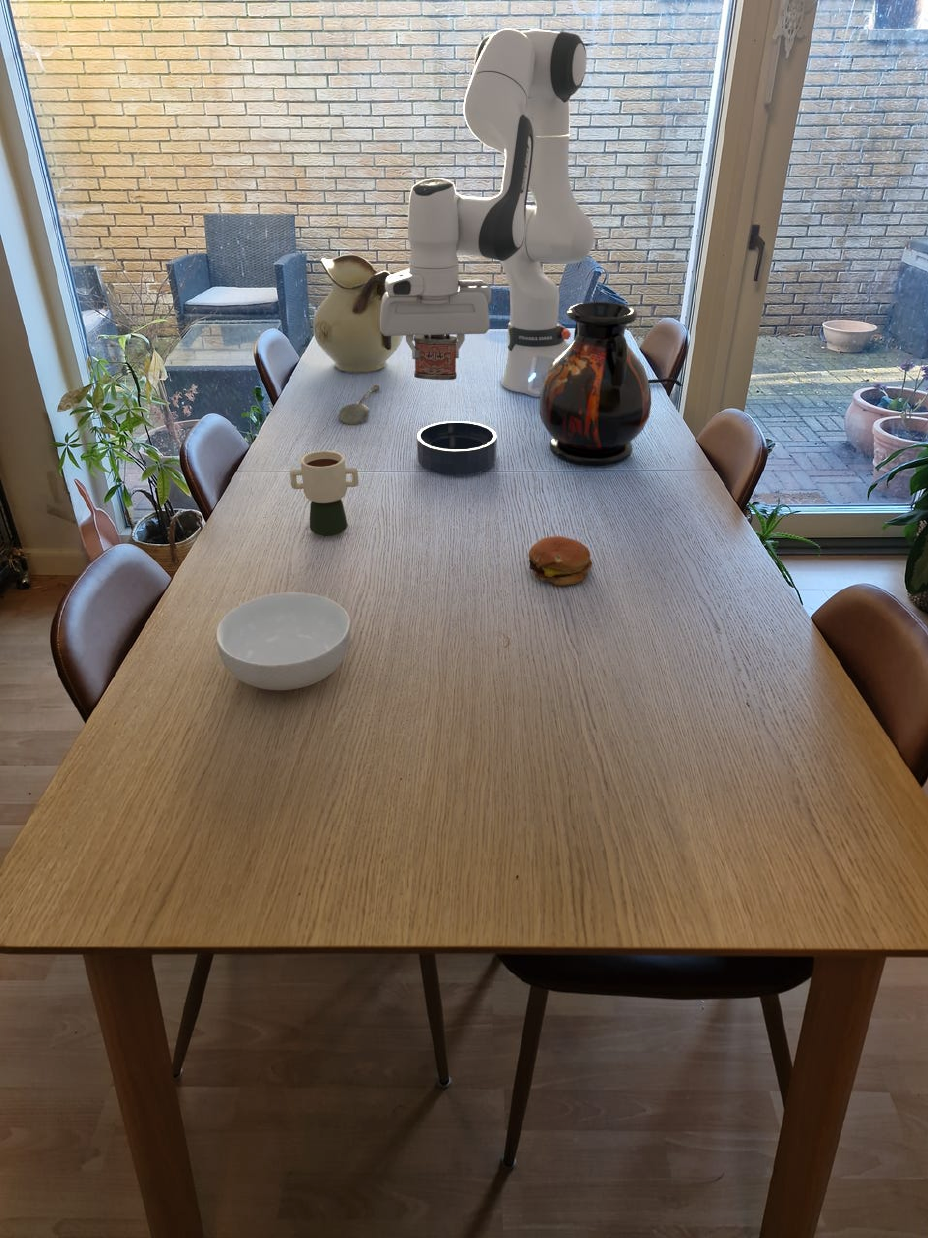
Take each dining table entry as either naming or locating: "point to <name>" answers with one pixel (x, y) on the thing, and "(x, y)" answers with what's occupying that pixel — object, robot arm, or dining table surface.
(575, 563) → the burger
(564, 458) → the amphora vase
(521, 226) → the robot arm
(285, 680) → the cereal bowl
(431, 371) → the lighter
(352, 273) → the pitcher
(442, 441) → the bowl
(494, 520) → the dining table surface
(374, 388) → the soupspoon
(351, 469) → the character mug
